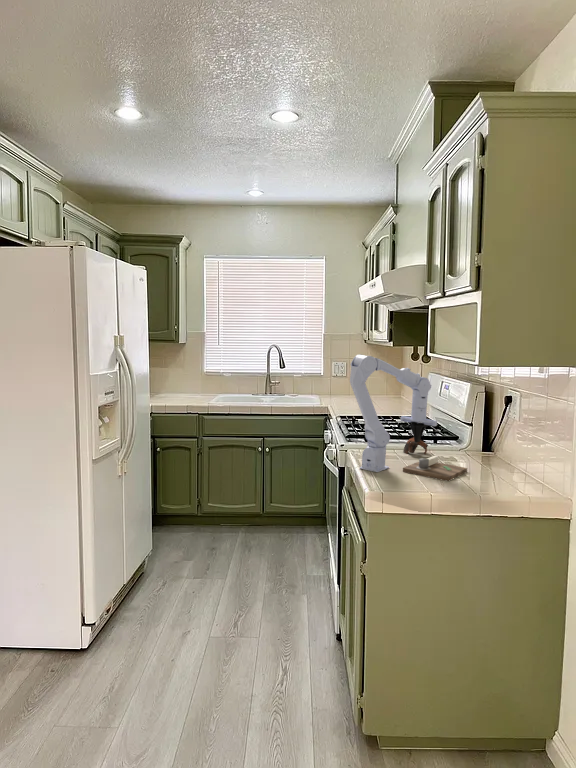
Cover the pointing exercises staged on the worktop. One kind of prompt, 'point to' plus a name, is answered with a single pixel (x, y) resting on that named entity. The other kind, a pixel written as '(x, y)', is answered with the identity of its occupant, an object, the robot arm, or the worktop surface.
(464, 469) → the brown flat square board
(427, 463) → the peg lever
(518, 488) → the worktop surface
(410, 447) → the pottery mug
